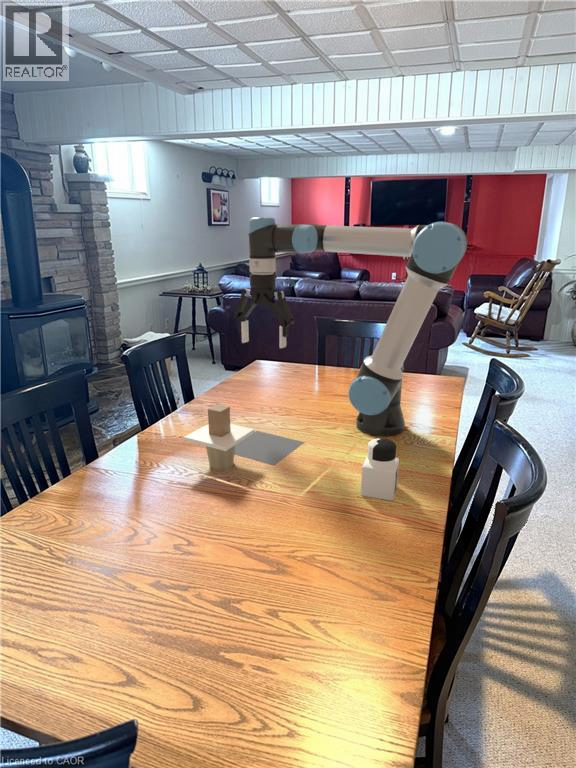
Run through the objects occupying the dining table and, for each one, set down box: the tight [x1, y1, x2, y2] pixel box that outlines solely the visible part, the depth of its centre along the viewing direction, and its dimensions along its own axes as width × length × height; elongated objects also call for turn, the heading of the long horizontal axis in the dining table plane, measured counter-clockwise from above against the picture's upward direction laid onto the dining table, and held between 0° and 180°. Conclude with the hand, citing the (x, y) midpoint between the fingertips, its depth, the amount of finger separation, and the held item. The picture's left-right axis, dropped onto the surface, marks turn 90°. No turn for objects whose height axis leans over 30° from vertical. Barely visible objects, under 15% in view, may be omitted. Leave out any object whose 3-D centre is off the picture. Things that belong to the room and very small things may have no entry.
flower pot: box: [205, 445, 235, 471], centre depth 132 cm, size 9×9×9 cm
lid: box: [183, 404, 255, 451], centre depth 129 cm, size 13×13×8 cm
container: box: [360, 437, 400, 502], centre depth 119 cm, size 8×8×13 cm
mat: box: [234, 430, 305, 466], centre depth 143 cm, size 17×17×1 cm
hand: (263, 344), depth 151 cm, fingers open, 13 cm apart
